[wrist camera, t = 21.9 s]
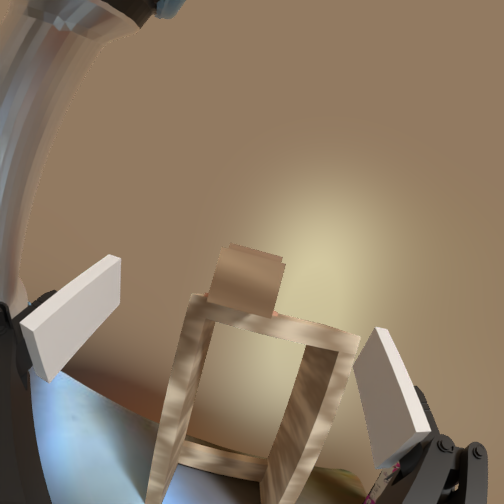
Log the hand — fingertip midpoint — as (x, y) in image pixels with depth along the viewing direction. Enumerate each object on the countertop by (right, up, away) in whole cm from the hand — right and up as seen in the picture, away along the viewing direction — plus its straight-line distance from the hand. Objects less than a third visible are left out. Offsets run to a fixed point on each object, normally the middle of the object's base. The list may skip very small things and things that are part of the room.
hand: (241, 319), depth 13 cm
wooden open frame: (-5, -33, +16) cm, 37 cm away
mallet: (-1, -2, +13) cm, 13 cm away
